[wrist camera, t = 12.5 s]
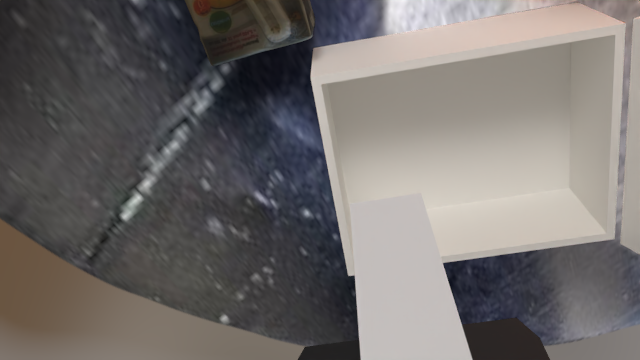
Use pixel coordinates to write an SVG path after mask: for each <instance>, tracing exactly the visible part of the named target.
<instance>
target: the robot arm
mask: <svg viewBox="0 0 640 360" xmlns="http://www.w3.org/2000/svg"><path fill="white" fill-rule="evenodd" d="M350 213H351V227H352V241H353V256H354V270H355V285H356V299H357V313H358V328H359V340H355V341H347V342H340V343H332V344H324V345H316V346H309V347H305V348H304V350H303V351H302V353H301V355H300V357H299V358H298V360H550V359H549V357H548V354H547V352H546V350H545V348H544V346H543V344H542V342H541V340H540V338H539V337H538V336H537V335H536V334H535V333H533V332H532V331H531V330H530V329H529V328H528V327H526V326H525V325H524V324H523V323H522V322H521V321H520V320H518V319H517V318H510V319H503V320H495V321H487V322H479V323H472V324H464V325H462V324H461V321H460V318H459V314H458V311H457V308H456V305H455V301H454V298H453V295H452V292H451V289H450V285H449V282H448V279H447V276H446V272H445V269H444V266H443V263H442V260H441V256H440V253H439V250H438V247H437V243H436V240H435V237H434V234H433V230H432V227H431V224H430V221H429V218H428V214H427V211H426V208H425V205H424V201H423V198H422V195H421V193H418V194H411V195H404V196H398V197H391V198H384V199H378V200H371V201H364V202H358V203H351V204H350Z"/></svg>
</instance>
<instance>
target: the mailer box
mask: <svg viewBox="0 0 640 360" xmlns="http://www.w3.org/2000/svg"><path fill="white" fill-rule="evenodd" d="M625 29H626V23H624V22H622V21H619V20H617V19H615V18H612V17H610V16H608V15H605V14H603V13H601V12H598V11H596V10H594V9H592V8H589V7H587V6H585V5H582V4H580V3H578V2H574V3H568V4H562V5H557V6H551V7H545V8H539V9H534V10H528V11H522V12H517V13H511V14H505V15H500V16H494V17H488V18H482V19H477V20H471V21H465V22H460V23H454V24H448V25H443V26H437V27H431V28H425V29H420V30H414V31H408V32H403V33H397V34H391V35H386V36H380V37H374V38H368V39H363V40H357V41H351V42H346V43H340V44H334V45H328V46H323V47H317V48H313V56H312V66H311V77H310V78H311V83H312V88H313V93H314V99H315V104H316V109H317V114H318V120H319V125H320V130H321V135H322V141H323V146H324V151H325V156H326V162H327V167H328V172H329V177H330V183H331V188H332V193H333V198H334V204H335V209H336V214H337V219H338V225H339V230H340V235H341V240H342V246H343V251H344V256H345V261H346V267H347V272H348V276H353V275H355V270H354V256H353V241H352V227H351V213H350V204H351V203H358V202H364V201H371V200H378V199H384V198H391V197H398V196H404V195H411V194H418V193H421V195H422V198H423V201H424V205H425V208H426V211H427V214H428V218H429V221H430V224H431V227H432V230H433V234H434V237H435V240H436V243H437V247H438V250H439V253H440V256H441V260H442V263H446V262H453V261H460V260H468V259H475V258H482V257H489V256H496V255H504V254H511V253H518V252H525V251H532V250H540V249H547V248H554V247H561V246H568V245H576V244H583V243H590V242H597V241H604V240H611V239H615V223H616V203H617V184H618V165H619V145H620V126H621V106H622V87H623V68H624V48H625Z"/></svg>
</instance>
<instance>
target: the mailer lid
mask: <svg viewBox="0 0 640 360" xmlns="http://www.w3.org/2000/svg"><path fill="white" fill-rule="evenodd" d="M620 244H622V245H623V246H625V247H627V248H629V249H631V250H632V251H634V252H636V253H638V254H640V16H639V17H636V18H633V31H632V49H631V66H630V84H629V101H628V119H627V136H626V154H625V171H624V189H623V206H622V224H621V242H620Z"/></svg>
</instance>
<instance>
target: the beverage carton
mask: <svg viewBox="0 0 640 360" xmlns="http://www.w3.org/2000/svg"><path fill="white" fill-rule="evenodd" d="M185 2H186V4H187V7H188V9H189V12H190V14H191V16H192V19H193V21H194V23H195V24H196V26H197V28H198V31H199V36H200V40H201V42H202V44H203V46H204V48H205V51H206V54H207V57H208V59H209V61H210V63H211V65H212V66H216V65H220V64H224V63H227V62H230V61H233V60H237V59H240V58H244V57H247V56H250V55H253V54H257V53H260V52H264V51H268V50H272V49H276V48H279V47H283V46H287V45H291V44H294V43H298V42H301V41H305V40H308V39H310V38H311V37H312V36H313V29H314V26H315V16H314V13H313V10H312V7H311V3H310V0H185Z"/></svg>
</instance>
